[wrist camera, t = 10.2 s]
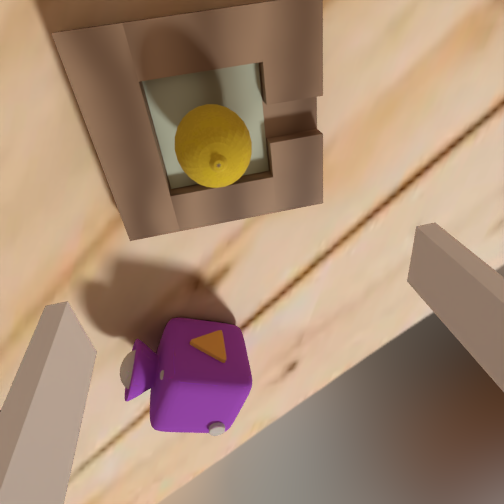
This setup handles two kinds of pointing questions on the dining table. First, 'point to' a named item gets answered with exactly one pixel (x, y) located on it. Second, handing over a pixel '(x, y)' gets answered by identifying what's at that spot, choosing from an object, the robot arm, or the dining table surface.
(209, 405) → the toy camera
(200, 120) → the lemon
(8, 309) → the dining table surface
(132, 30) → the pocket board
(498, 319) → the robot arm
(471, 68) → the dining table surface
